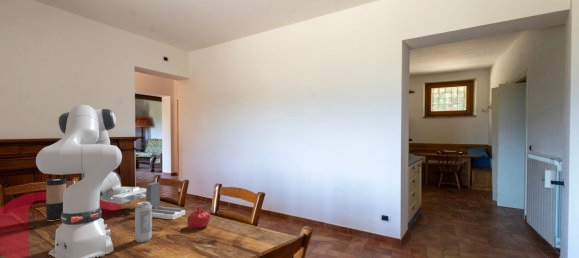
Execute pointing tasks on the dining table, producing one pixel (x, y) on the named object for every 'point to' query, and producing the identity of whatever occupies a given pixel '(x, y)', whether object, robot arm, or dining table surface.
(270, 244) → the dining table surface
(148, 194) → the fader tab
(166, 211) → the fader board
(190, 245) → the dining table surface
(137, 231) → the energy drink can
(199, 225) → the pomegranate
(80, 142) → the robot arm
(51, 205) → the travel mug
